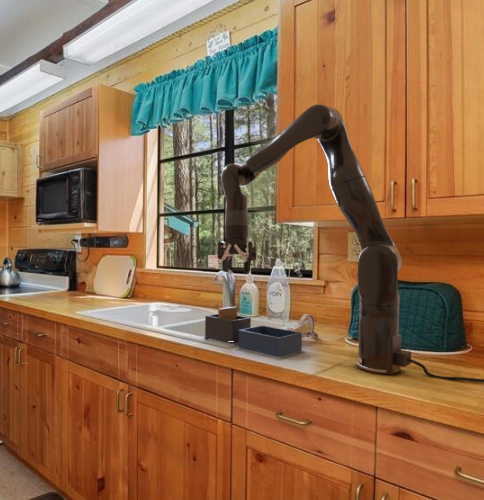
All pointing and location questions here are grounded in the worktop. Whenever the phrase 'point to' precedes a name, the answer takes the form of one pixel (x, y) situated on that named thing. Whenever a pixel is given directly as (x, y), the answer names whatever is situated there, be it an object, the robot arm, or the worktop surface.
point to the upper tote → (225, 325)
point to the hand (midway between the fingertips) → (236, 272)
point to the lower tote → (270, 340)
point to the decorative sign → (305, 327)
